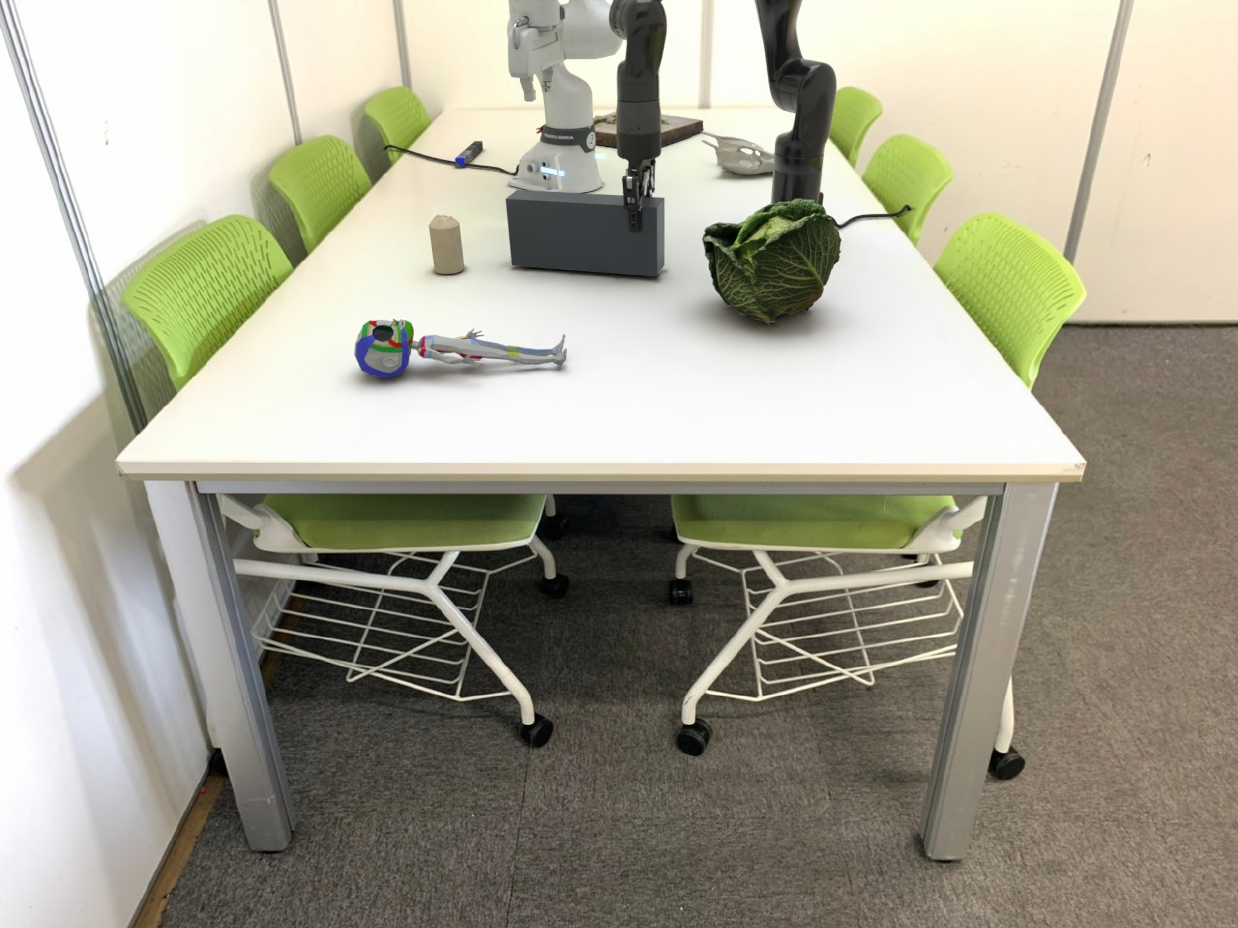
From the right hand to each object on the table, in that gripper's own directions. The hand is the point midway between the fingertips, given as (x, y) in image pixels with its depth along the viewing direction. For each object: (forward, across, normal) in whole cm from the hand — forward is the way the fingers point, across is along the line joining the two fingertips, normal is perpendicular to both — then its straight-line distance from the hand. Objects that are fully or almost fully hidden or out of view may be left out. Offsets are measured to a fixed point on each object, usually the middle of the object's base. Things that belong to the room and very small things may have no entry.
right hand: (640, 225), depth 159 cm
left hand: (-18, +16, +23) cm, 34 cm away
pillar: (+9, +74, +66) cm, 99 cm away
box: (+8, 0, +10) cm, 13 cm away
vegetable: (+9, -13, -25) cm, 30 cm away
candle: (+9, -6, +35) cm, 37 cm away
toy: (+9, -44, +16) cm, 47 cm away
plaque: (+10, +108, +30) cm, 113 cm away
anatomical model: (+10, +75, -9) cm, 76 cm away
